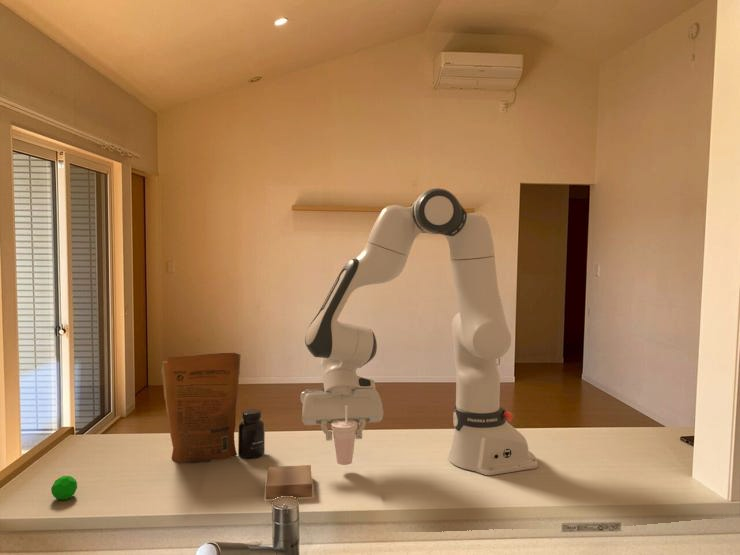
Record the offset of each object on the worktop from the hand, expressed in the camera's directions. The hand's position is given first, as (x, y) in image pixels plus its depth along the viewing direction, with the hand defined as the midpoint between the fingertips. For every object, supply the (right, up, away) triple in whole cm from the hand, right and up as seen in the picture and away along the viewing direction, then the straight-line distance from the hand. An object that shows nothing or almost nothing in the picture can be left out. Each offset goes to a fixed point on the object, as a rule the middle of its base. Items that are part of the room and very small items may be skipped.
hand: (344, 438), depth 135 cm
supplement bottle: (-25, -8, +12) cm, 29 cm away
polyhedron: (-61, -10, -12) cm, 63 cm away
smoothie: (0, -6, +1) cm, 6 cm away
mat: (-13, -10, -8) cm, 18 cm away
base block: (-12, -9, -7) cm, 17 cm away
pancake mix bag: (-37, -8, +9) cm, 39 cm away
